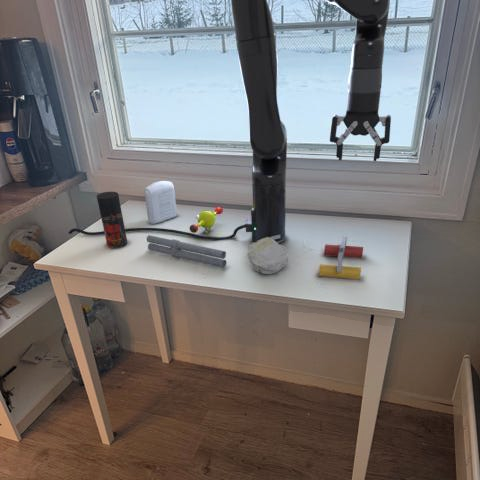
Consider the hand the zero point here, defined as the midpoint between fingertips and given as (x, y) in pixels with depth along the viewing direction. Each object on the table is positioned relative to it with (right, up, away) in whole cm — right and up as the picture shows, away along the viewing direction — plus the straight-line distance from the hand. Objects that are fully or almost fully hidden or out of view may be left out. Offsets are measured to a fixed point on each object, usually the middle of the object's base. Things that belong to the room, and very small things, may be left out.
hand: (357, 160), depth 118 cm
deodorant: (-66, -18, +22) cm, 72 cm away
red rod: (-2, -23, +8) cm, 25 cm away
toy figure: (-40, -13, +26) cm, 50 cm away
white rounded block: (-55, -7, +37) cm, 67 cm away
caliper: (-3, -24, +2) cm, 24 cm away
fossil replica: (-22, -27, +4) cm, 35 cm away
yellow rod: (-5, -30, -1) cm, 30 cm away
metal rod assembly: (-45, -24, +11) cm, 52 cm away
